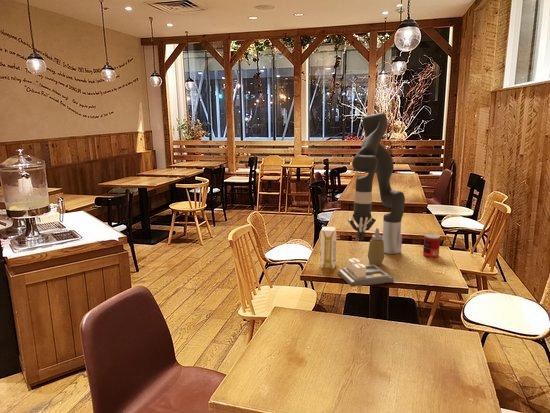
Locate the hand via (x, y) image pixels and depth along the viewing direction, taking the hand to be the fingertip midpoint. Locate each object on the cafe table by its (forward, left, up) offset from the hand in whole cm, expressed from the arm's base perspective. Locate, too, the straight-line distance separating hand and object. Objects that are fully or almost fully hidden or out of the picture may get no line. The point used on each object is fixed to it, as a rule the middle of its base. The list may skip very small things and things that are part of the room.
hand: (360, 239), depth 185 cm
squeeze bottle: (-16, -14, -18) cm, 28 cm away
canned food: (-49, -17, -18) cm, 55 cm away
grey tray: (-3, +1, -18) cm, 18 cm away
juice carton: (+8, -17, -18) cm, 26 cm away
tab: (+2, +4, -16) cm, 16 cm away
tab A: (+1, -3, -16) cm, 16 cm away
